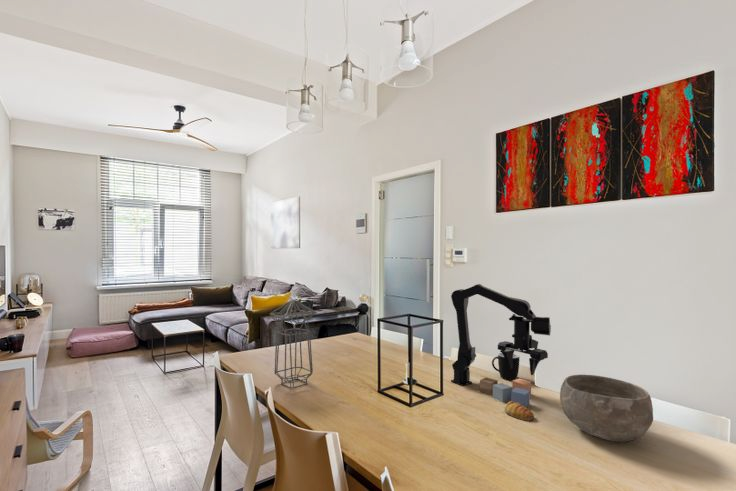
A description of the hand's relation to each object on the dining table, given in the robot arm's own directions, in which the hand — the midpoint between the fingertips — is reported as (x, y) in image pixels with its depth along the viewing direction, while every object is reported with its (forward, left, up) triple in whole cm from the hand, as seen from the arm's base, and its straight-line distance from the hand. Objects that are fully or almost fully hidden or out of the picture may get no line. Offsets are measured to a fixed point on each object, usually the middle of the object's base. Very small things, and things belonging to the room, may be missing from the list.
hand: (521, 371), depth 150 cm
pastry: (-18, -11, -9) cm, 23 cm away
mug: (+12, +16, -9) cm, 22 cm away
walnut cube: (-10, +8, -9) cm, 15 cm away
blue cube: (-10, -6, -9) cm, 15 cm away
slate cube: (-11, +1, -9) cm, 14 cm away
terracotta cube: (0, 0, -9) cm, 9 cm away
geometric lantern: (-71, +60, -9) cm, 93 cm away
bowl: (-9, -34, -9) cm, 36 cm away
